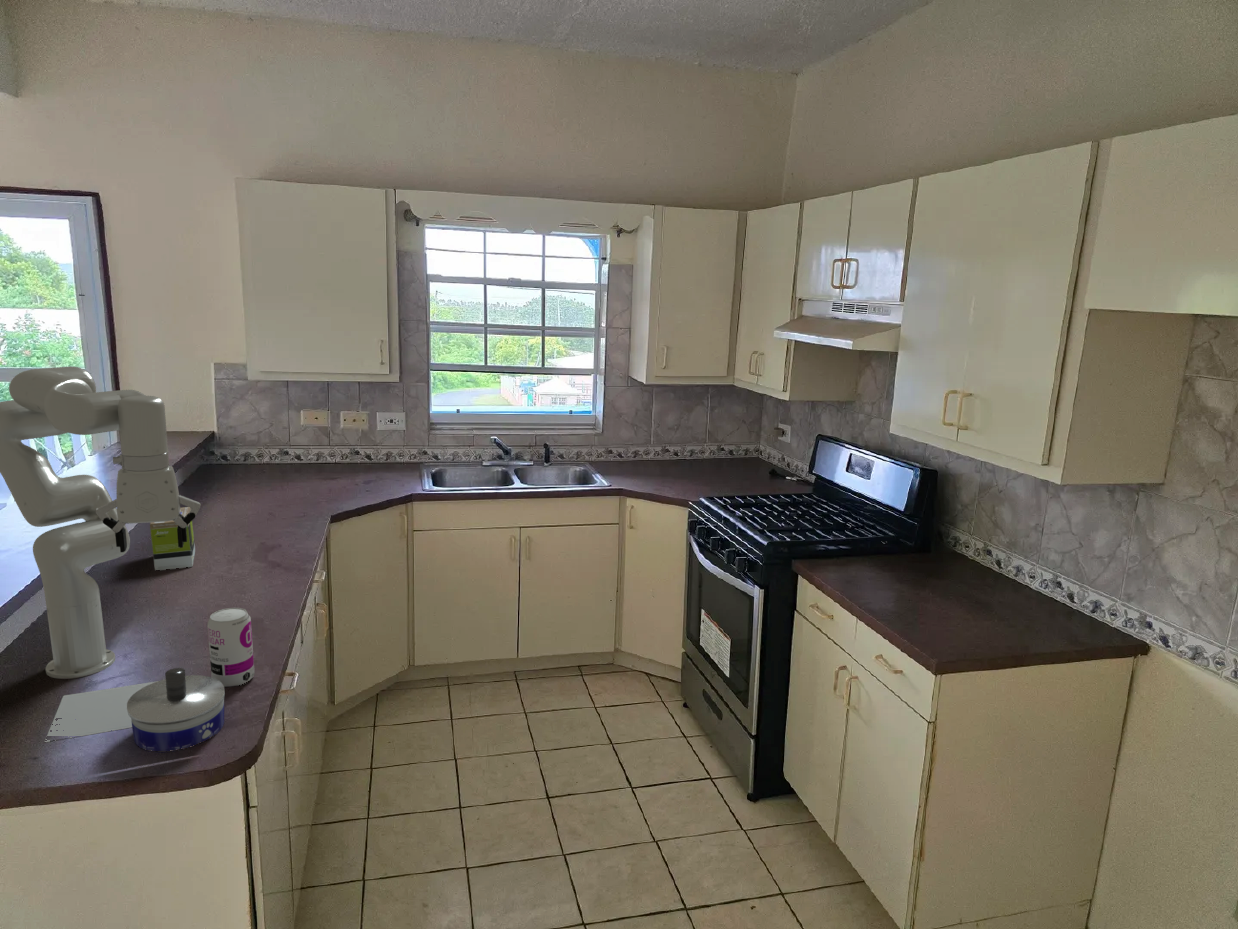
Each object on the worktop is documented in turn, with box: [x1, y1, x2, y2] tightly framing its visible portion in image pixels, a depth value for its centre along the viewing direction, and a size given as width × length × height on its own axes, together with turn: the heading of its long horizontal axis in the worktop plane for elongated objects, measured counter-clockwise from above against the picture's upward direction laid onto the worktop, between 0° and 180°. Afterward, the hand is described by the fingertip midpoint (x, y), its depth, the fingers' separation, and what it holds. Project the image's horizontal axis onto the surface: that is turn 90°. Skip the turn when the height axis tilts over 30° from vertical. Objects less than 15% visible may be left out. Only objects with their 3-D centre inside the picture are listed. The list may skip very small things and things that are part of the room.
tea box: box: [149, 506, 196, 571], centre depth 235 cm, size 15×10×15 cm
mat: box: [44, 680, 158, 743], centre depth 156 cm, size 18×18×1 cm
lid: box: [127, 667, 226, 725], centre depth 148 cm, size 16×16×6 cm
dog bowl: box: [131, 698, 225, 751], centre depth 149 cm, size 15×15×6 cm
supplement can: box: [206, 607, 255, 688], centre depth 168 cm, size 8×8×15 cm
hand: (152, 547), depth 153 cm, fingers open, 9 cm apart
